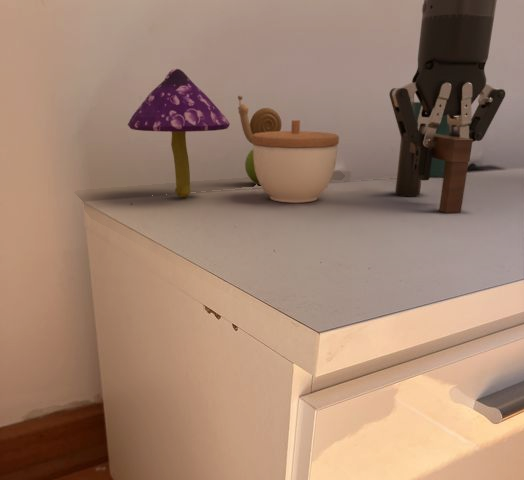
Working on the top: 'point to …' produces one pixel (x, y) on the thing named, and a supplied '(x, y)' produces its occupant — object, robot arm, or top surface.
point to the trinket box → (294, 163)
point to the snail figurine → (257, 130)
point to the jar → (443, 129)
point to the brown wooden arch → (454, 174)
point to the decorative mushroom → (178, 119)
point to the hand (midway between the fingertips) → (436, 178)
